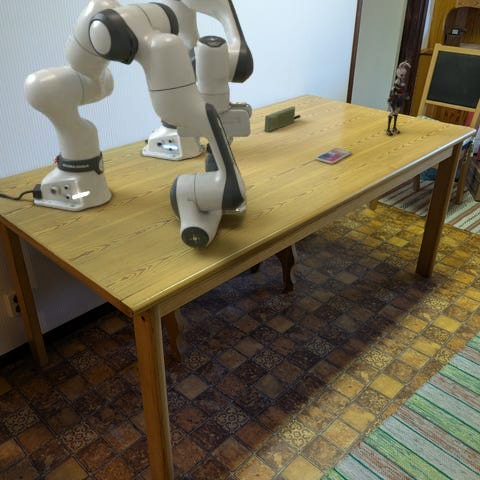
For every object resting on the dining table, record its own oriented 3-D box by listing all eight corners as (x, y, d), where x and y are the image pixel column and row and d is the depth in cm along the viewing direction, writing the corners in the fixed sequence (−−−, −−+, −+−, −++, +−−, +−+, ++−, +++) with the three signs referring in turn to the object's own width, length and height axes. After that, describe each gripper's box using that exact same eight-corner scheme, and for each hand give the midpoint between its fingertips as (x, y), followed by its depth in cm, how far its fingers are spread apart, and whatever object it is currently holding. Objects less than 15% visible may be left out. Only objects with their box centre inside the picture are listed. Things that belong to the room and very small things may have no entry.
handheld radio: (263, 130, 215) (295, 118, 232) (269, 132, 213) (301, 119, 230) (264, 115, 212) (297, 103, 229) (270, 117, 210) (303, 105, 227)
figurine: (387, 138, 208) (399, 62, 194) (375, 134, 212) (386, 59, 197) (406, 131, 217) (419, 57, 202) (394, 128, 221) (406, 55, 206)
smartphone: (352, 151, 191) (332, 162, 181) (352, 154, 191) (332, 165, 181) (335, 147, 195) (315, 157, 185) (335, 149, 195) (314, 159, 185)
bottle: (204, 209, 148) (203, 148, 139) (207, 202, 153) (206, 142, 144) (222, 210, 148) (222, 149, 139) (224, 203, 153) (224, 143, 143)
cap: (205, 153, 140) (205, 146, 139) (207, 148, 144) (207, 141, 143) (220, 154, 140) (220, 147, 139) (222, 149, 144) (222, 142, 143)
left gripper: (244, 202, 134) (250, 181, 146) (169, 197, 136) (180, 177, 148) (244, 223, 137) (249, 201, 149) (170, 218, 139) (181, 197, 151)
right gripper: (251, 99, 138) (250, 147, 145) (176, 99, 138) (178, 148, 144) (252, 105, 133) (251, 155, 140) (174, 105, 132) (177, 155, 139)
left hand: (214, 189), depth 149 cm, fingers closed on bottle, 5 cm apart
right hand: (214, 151), depth 142 cm, fingers open, 6 cm apart
